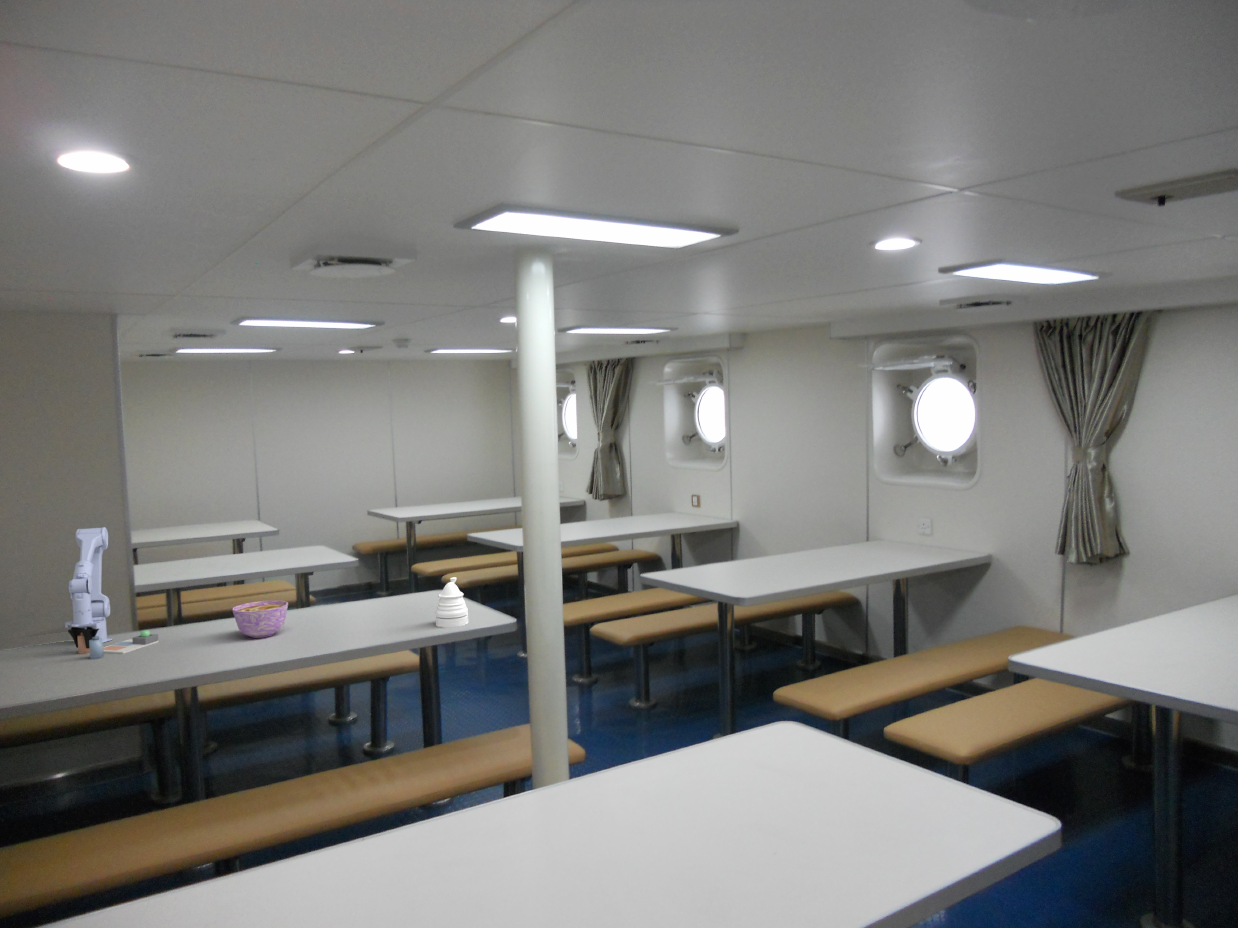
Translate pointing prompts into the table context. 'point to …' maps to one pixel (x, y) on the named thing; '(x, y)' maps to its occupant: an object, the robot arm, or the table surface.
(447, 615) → the honey pot
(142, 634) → the button
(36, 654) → the table surface
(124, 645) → the picture board
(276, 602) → the bowl of food
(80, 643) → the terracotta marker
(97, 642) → the slate marker
